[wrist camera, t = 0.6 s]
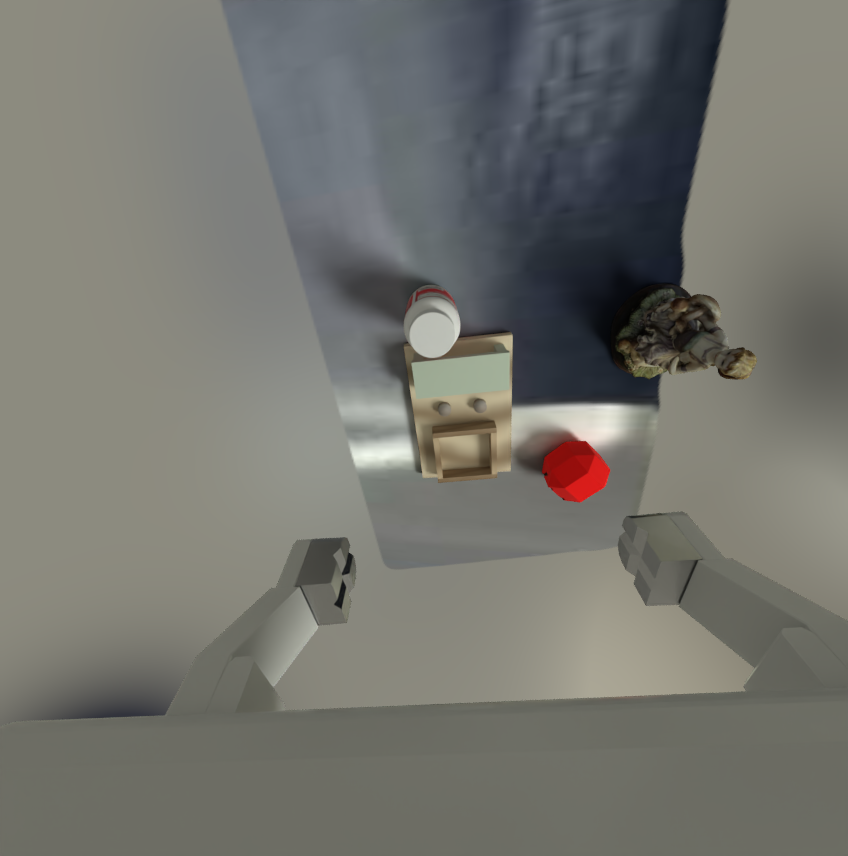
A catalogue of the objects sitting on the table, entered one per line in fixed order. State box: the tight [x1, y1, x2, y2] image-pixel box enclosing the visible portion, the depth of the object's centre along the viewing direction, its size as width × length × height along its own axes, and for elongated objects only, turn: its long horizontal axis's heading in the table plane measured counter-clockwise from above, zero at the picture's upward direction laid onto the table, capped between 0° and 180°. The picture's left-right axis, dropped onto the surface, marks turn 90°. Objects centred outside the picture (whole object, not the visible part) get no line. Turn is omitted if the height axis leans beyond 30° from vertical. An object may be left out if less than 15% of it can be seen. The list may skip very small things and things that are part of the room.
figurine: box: [611, 283, 757, 379], centre depth 40 cm, size 12×11×15 cm
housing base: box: [404, 332, 513, 483], centre depth 51 cm, size 22×14×3 cm, turn 7°
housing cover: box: [411, 344, 510, 399], centre depth 46 cm, size 5×12×3 cm, turn 97°
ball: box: [542, 441, 610, 502], centre depth 54 cm, size 8×8×8 cm
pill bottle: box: [404, 285, 460, 358], centre depth 41 cm, size 6×6×11 cm
